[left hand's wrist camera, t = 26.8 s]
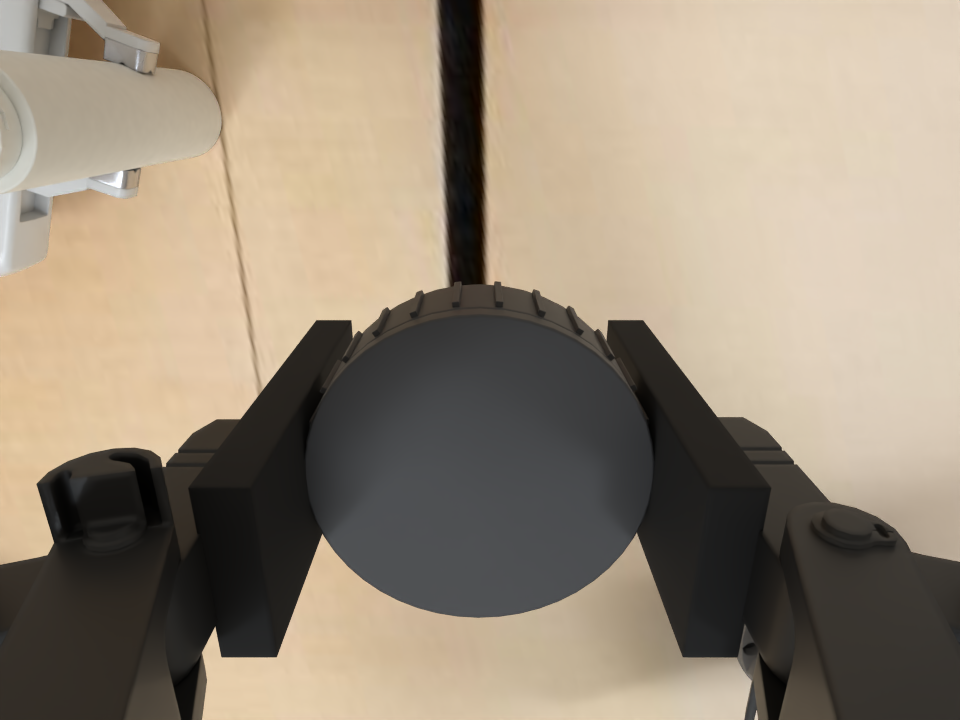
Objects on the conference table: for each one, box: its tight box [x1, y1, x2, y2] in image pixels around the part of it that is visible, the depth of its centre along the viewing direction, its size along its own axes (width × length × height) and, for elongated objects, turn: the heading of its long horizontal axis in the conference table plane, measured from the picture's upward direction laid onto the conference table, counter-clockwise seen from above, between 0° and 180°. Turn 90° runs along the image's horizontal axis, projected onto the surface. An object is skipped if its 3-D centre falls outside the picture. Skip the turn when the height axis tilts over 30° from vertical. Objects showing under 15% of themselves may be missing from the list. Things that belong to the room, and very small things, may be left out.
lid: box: [304, 281, 655, 618], centre depth 11 cm, size 6×6×2 cm
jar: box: [0, 50, 222, 194], centre depth 29 cm, size 5×5×18 cm
